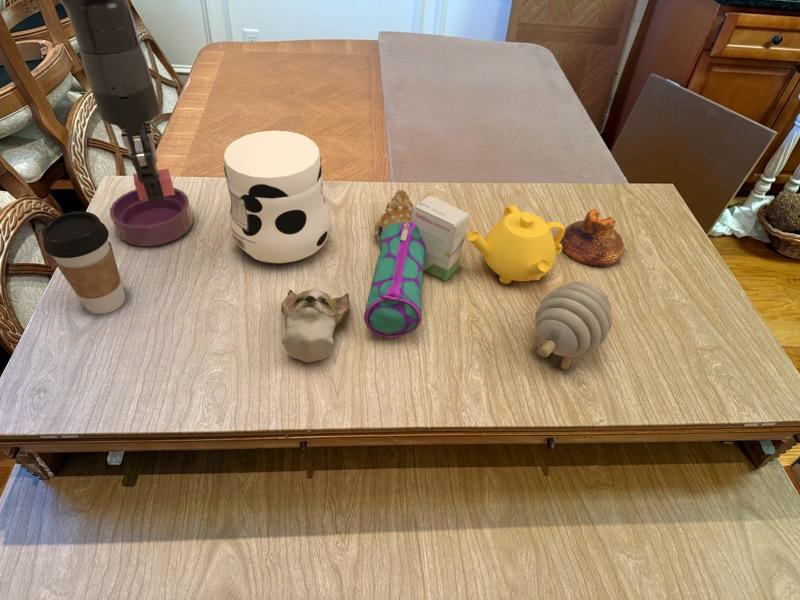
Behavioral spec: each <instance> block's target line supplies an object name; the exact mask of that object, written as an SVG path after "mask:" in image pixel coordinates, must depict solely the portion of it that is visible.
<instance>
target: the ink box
mask: <svg viewBox="0 0 800 600" xmlns="http://www.w3.org/2000/svg"><path fill="white" fill-rule="evenodd" d="M412 208H413V209H412V217H411V222H413V223H414V224H416V225H417V226H418V228H419V233H420V235H421V236H422V241H423V242H424V244H425V247H426V253H425V263H424V268H423V272H426V273H428V274H431V275H432V276H434V277H436V278H438V279H440V280H442V281H444V282H446V281H448V279H449V278H450V277H452V275H453V274H454V273H455V272H456V271H458V269H459V266H460V261H461V257H462V253H463V252H462V251H463V248H464V243H465V238H466V234H467V230H468V225H469V223H470V222H469V221H470V217H471V214H470V213H468V212H466V211H464V210H462V209H459V208H457V207H456V206H453V205H452V204H450V203H446V202H445V201H443V200H440V199H439V198H437V197H434V196H432V195H426V196H425V197H423V198H422V199H420V200H419V201H418V202H416V203H415V204H413V207H412Z"/></svg>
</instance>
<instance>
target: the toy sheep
mask: <svg viewBox="0 0 800 600" xmlns="http://www.w3.org/2000/svg"><path fill="white" fill-rule="evenodd" d="M609 297H610V296H609V295H608V294H606V293H605V292H604V291H603V290H602V289H600V288H599V287H598V286H596V285H594V284H592V283H590V282H587V281H572V282H569V283H567V284H564V285H561V286H559V287H558V288H556V289H554V290H553V291H551V292H549V293H548V294H546V295H545V296H544V297H543V298H542V300H541V302H540V303H539V306H538V307H537V310H536V312H535V316H534V326H535V327H534V328H535V333H536V336H537V339H538V341H539V343H538V345H537V348H536V351H535V352H536V354H537V355H538V356H540V357H542V358H548V357H549V356H550V355H551V353H552V354H553V355H555V356H559V357H562V360H561V362H560V368H561V369H562V370H568V369H570V366H571V364H572V361H573V358H575V357H583V356H587V355H589V354H591V353H593V352H594V351H595V350H596V349H598V348H599V347H600V346H601V345H603V344H604V343H605V341H606V340H607V338H608V335H609V332H610V330H611V329H612V324H613V317H612V304H611V302H610V299H609Z"/></svg>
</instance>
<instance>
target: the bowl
mask: <svg viewBox="0 0 800 600" xmlns="http://www.w3.org/2000/svg"><path fill="white" fill-rule="evenodd" d="M173 188H174V193H175V195H170V196H164V198H163V199H162V200H156V201H150V200H149V199H145V200H140V199H139V196H138V193H137V190H136V188H135V189H132V190H129V191H128V192H126V193H124V194H122V195H120V196H119V197H118V198H117V199H115V201H114V202H113V203H112V205H111V206H110V208H109V216H110V218H111V221H112V224H113V226H114V229H115V231H116V234H117V235H118V237H119V239H121V240H122V241H123V242H126V243H127V244H129V245H133V246H138V247H154V246H159V245H164V244H168V243H170V242H172V241H176V240H177V239H180V238H181V237H182V236H184V235H186V234H187V233H188V231H189V230H190V229H191V228H192V226H193V223H194V216H193V213H192V208H191V205H190V200H189V197H188V195H187V194H186V193H185V192H184V191H183V190H180V189H179V188H176V187H173Z"/></svg>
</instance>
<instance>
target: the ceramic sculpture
mask: <svg viewBox="0 0 800 600" xmlns="http://www.w3.org/2000/svg"><path fill="white" fill-rule="evenodd" d="M280 307H281V309H280V311H281V313H282V314H283V316H284V318H286V321H285V325H286V332H285V334H284V335H283V337H282V338H281V344H282V346H283V348H284V351H285V352H286V353H287V354H288V355H289V356H290V357H292V358H293V359H296V360H299V361H302V362H304V363H312V362H313V363H314V362H316V361H321V360H325V359H327V358H328V357H329V356H330V355H331V353H332V352H333V350H334V347H335V341H334V339H333V337H334V331H335V329H336V325H338V324H339V323H341V322H342V321H343V320H344V319H345V318H346V317H347V316H348V314H349V313H350V311H351V302H350V294H349V292H347V293H345V294H344V295H342V296H340V297H336V298H333V299H332V297H331V296H330V295H329V294H327V293H326V292H325V291H322V290H319V289H309V290H304V291H301V292H299V293H298V294H295V293H294V291H293V290H291V289H289V290H288V293H287V296H286V298H285V299H284V301H283V302H282V303H281V305H280Z"/></svg>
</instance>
